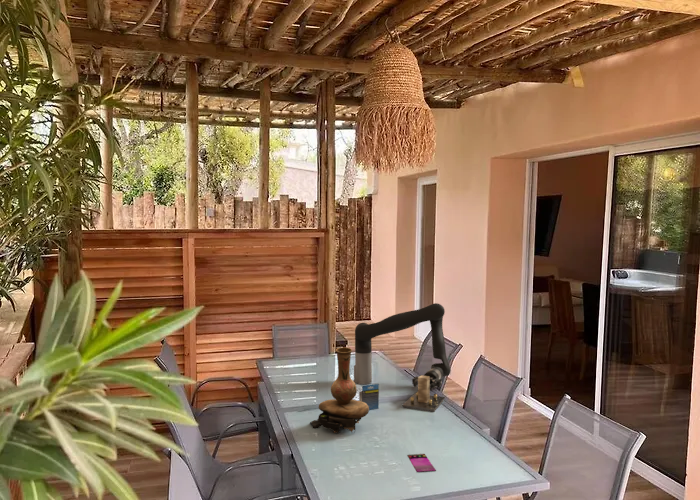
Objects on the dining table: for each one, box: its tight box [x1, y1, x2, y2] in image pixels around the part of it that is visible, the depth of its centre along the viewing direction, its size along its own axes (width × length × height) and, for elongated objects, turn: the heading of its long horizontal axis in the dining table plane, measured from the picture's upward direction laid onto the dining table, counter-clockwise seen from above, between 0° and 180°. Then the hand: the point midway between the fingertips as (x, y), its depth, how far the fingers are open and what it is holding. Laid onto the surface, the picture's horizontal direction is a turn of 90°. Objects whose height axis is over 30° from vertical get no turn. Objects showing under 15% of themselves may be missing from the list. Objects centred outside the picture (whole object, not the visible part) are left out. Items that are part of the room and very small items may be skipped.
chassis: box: [401, 391, 446, 413], centre depth 271 cm, size 16×20×4 cm
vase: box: [309, 347, 370, 434], centre depth 240 cm, size 24×22×35 cm
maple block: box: [417, 375, 431, 403], centre depth 271 cm, size 4×4×12 cm
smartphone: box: [407, 453, 437, 473], centre depth 204 cm, size 7×15×1 cm, turn 8°
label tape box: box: [358, 383, 380, 411], centre depth 264 cm, size 9×4×12 cm, turn 112°
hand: (423, 385), depth 270 cm, fingers open, 8 cm apart
